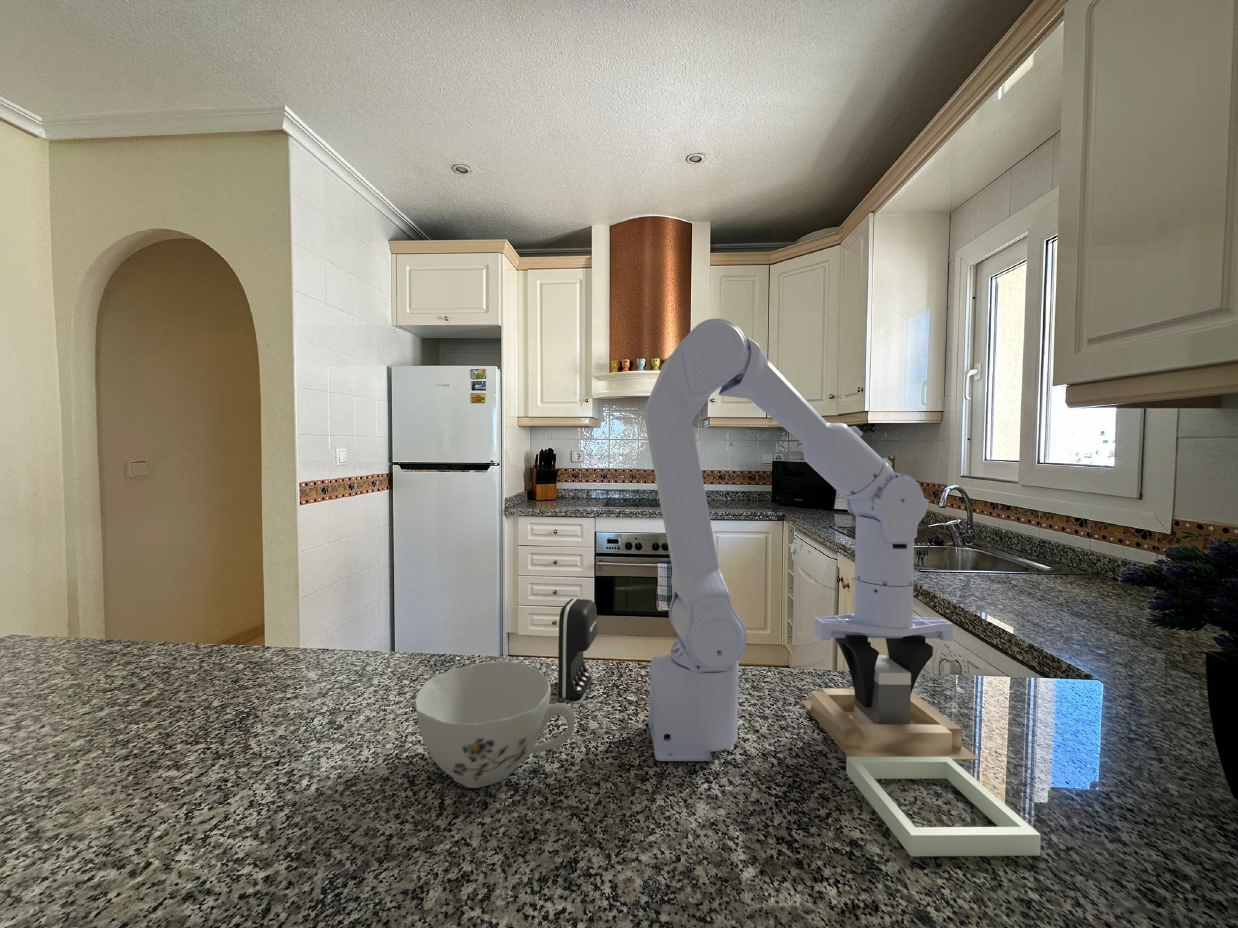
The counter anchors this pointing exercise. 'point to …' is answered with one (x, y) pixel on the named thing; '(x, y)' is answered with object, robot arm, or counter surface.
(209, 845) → the counter surface
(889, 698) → the grey rectangular block
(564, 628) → the black battery charger
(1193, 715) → the counter surface
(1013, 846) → the tray
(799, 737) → the counter surface
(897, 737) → the tray
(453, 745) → the teacup
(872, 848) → the counter surface
